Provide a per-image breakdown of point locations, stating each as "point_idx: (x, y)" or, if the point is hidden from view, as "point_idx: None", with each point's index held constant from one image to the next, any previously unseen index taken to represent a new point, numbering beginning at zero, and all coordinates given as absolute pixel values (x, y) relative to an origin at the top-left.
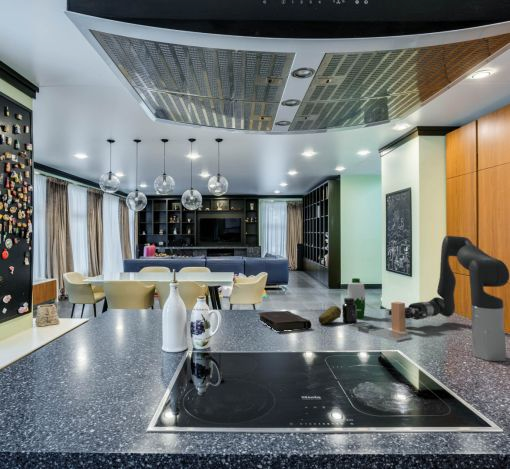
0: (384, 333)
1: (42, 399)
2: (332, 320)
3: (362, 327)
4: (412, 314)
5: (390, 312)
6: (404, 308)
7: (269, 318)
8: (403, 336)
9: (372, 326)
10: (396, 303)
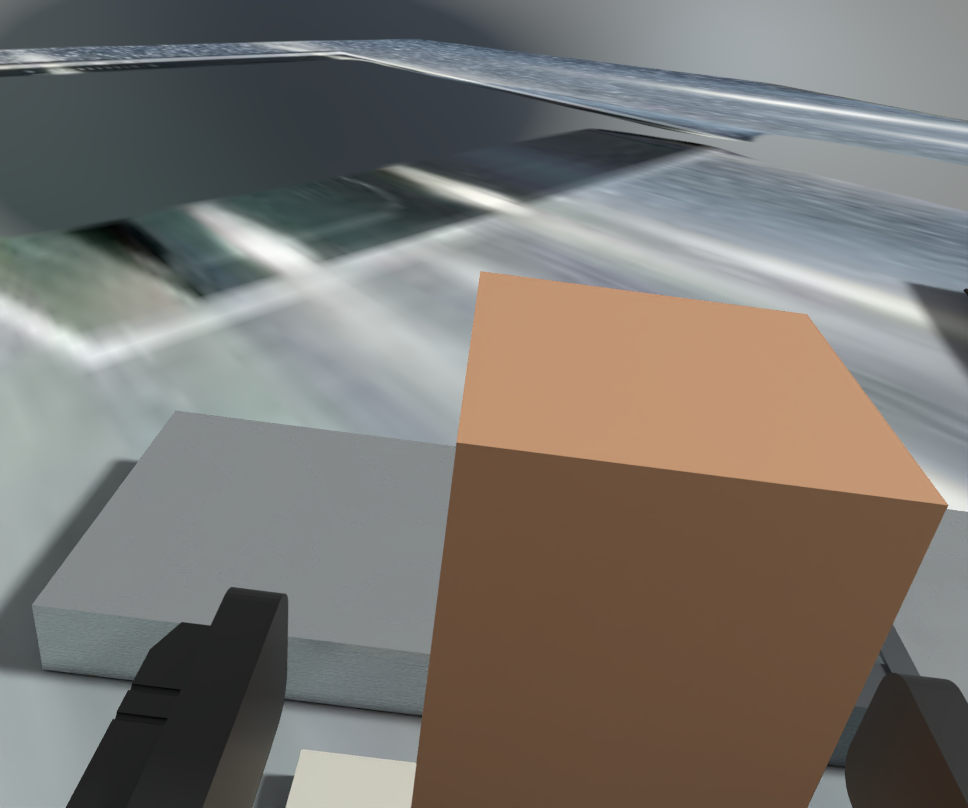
0: (403, 478)
1: (559, 63)
2: None
3: None
4: (73, 802)
5: (877, 725)
6: (436, 632)
7: None
8: (125, 495)
9: None
10: (589, 289)
